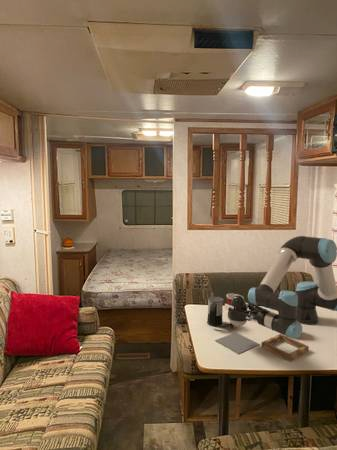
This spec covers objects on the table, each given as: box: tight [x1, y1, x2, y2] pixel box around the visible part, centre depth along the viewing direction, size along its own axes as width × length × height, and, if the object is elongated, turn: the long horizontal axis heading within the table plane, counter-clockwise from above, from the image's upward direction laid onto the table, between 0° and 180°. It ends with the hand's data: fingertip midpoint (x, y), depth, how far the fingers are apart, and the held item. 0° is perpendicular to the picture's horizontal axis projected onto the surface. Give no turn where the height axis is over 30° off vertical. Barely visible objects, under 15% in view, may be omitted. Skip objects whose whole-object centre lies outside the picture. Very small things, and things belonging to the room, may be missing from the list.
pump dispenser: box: [227, 294, 248, 327], centre depth 161 cm, size 10×10×15 cm
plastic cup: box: [226, 293, 244, 305], centre depth 199 cm, size 11×11×12 cm
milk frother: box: [206, 296, 236, 328], centre depth 183 cm, size 14×16×15 cm
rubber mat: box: [214, 331, 260, 355], centre depth 163 cm, size 16×16×1 cm
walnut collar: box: [261, 333, 310, 362], centre depth 158 cm, size 16×16×2 cm
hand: (231, 304), depth 165 cm, fingers closed on pump dispenser, 9 cm apart
